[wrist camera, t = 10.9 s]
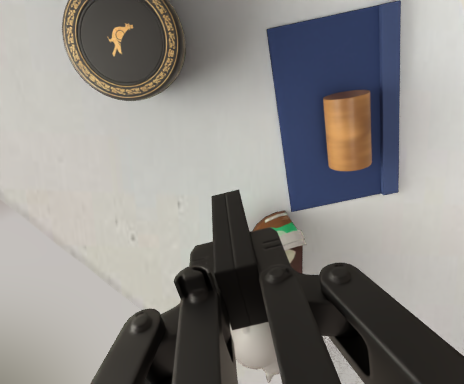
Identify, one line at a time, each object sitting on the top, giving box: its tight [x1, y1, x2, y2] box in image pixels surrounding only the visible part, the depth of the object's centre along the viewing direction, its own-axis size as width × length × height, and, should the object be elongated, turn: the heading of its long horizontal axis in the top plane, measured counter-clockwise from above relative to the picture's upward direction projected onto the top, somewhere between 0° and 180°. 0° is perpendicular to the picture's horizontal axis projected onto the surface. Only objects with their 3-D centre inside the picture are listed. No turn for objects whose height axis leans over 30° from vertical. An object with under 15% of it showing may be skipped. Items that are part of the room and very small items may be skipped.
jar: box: [62, 0, 186, 101], centre depth 29 cm, size 10×10×8 cm
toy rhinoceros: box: [230, 322, 280, 383], centre depth 45 cm, size 7×12×8 cm, turn 32°
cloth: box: [267, 0, 401, 212], centre depth 37 cm, size 22×14×1 cm, turn 11°
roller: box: [323, 90, 372, 171], centre depth 35 cm, size 8×5×5 cm
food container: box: [253, 211, 306, 274], centre depth 39 cm, size 12×6×10 cm, turn 4°
